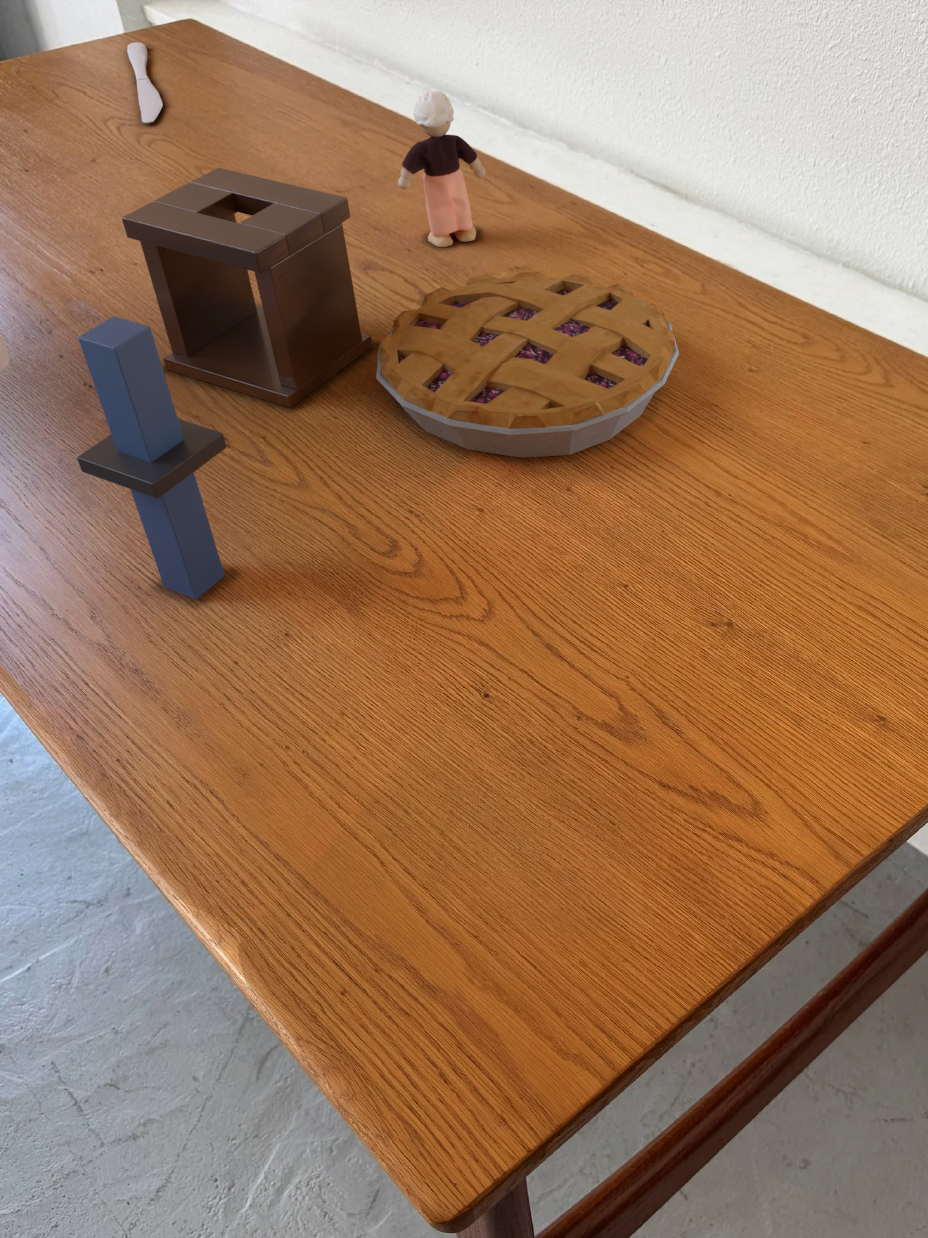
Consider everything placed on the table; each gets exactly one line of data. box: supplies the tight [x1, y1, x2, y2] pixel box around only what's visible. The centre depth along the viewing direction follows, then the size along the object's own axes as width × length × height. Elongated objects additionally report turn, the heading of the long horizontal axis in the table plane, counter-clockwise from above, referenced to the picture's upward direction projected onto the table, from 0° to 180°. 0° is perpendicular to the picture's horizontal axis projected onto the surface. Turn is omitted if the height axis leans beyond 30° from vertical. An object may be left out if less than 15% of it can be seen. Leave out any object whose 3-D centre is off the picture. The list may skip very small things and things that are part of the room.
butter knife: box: [126, 41, 164, 124], centre depth 140 cm, size 1×27×3 cm
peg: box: [76, 315, 228, 600], centre depth 70 cm, size 6×6×17 cm
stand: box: [121, 167, 373, 409], centre depth 92 cm, size 10×12×12 cm
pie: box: [375, 271, 680, 459], centre depth 91 cm, size 22×22×5 cm
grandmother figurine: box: [397, 90, 487, 248], centre depth 107 cm, size 8×4×13 cm, turn 126°
